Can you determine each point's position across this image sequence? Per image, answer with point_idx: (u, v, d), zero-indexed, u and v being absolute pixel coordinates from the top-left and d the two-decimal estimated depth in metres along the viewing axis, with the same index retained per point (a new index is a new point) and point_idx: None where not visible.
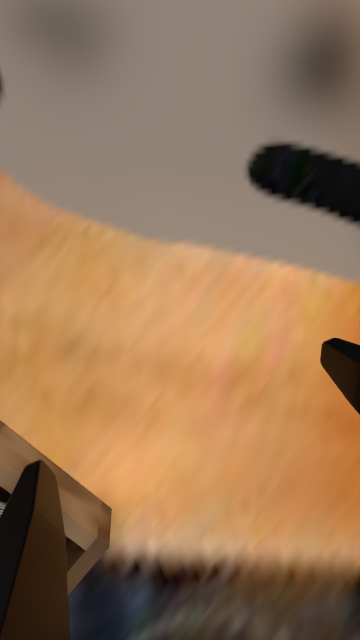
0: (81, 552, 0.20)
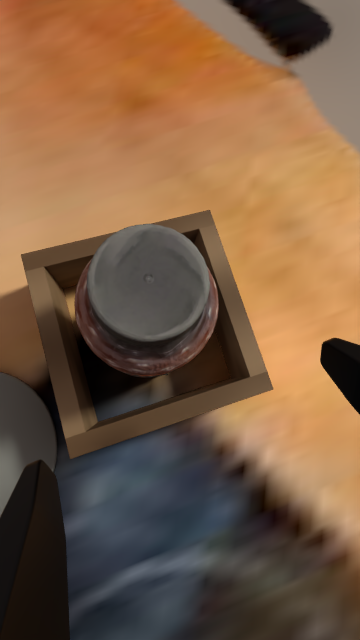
0: (241, 379, 0.17)
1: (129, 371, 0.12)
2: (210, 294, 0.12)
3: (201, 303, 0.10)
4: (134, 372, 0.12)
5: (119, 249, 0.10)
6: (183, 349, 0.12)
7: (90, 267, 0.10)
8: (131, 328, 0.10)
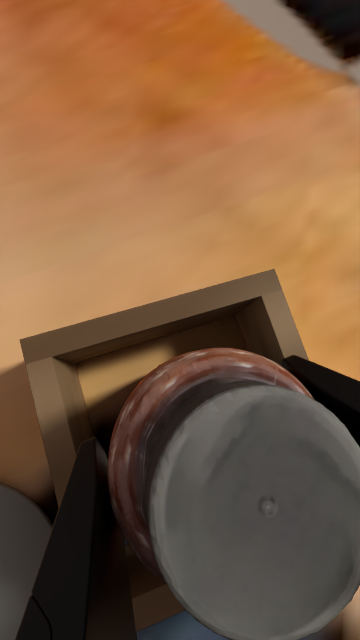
0: None
1: None
2: None
3: None
4: None
5: (209, 447, 0.05)
6: None
7: (155, 489, 0.05)
8: (242, 624, 0.05)
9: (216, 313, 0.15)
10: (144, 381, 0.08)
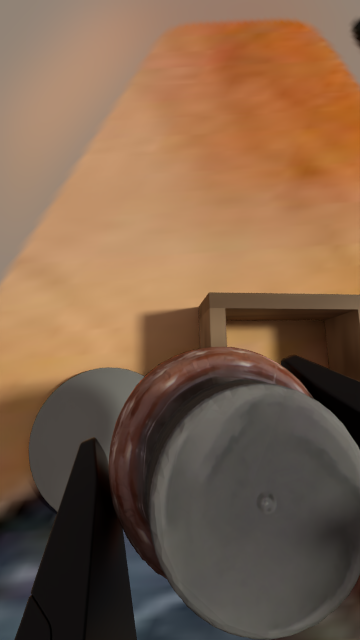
0: None
1: None
2: None
3: None
4: None
5: (209, 445, 0.05)
6: None
7: (156, 486, 0.05)
8: (242, 618, 0.05)
9: (321, 313, 0.22)
10: (144, 380, 0.08)
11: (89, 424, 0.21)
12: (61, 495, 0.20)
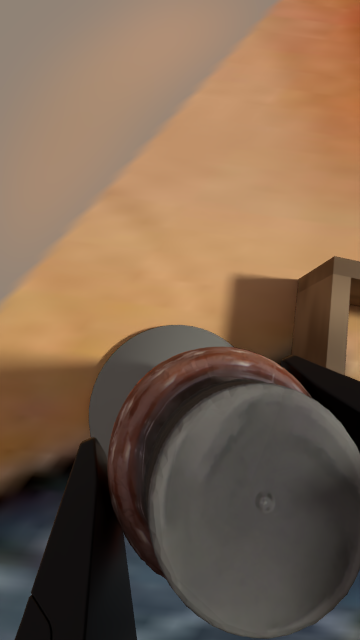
0: None
1: None
2: None
3: None
4: None
5: (208, 444, 0.05)
6: None
7: (155, 485, 0.05)
8: (240, 617, 0.05)
9: None
10: (143, 380, 0.08)
11: None
12: None
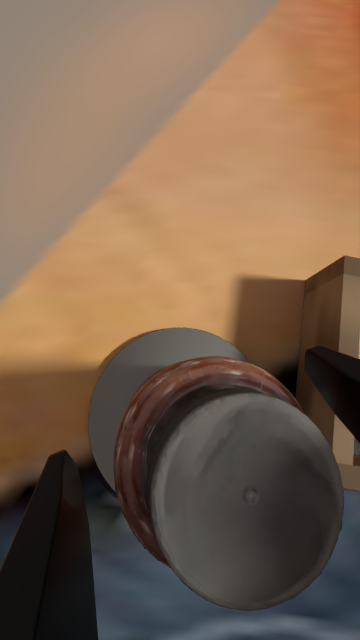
0: None
1: None
2: None
3: (335, 532, 0.06)
4: None
5: (201, 446, 0.06)
6: None
7: (156, 481, 0.06)
8: (229, 592, 0.06)
9: None
10: (145, 387, 0.09)
11: None
12: None
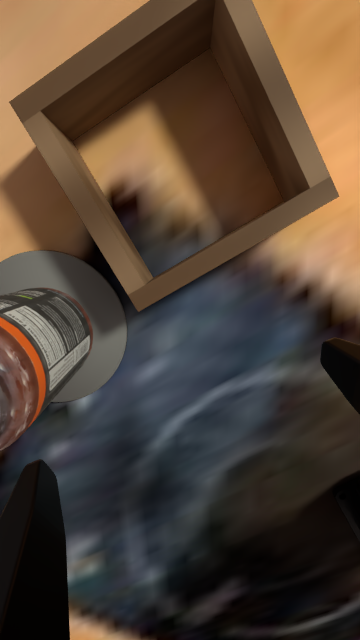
0: (299, 194, 0.15)
1: None
2: None
3: None
4: (2, 449, 0.12)
5: None
6: (11, 413, 0.11)
7: None
8: None
9: (180, 33, 0.14)
10: None
11: None
12: None
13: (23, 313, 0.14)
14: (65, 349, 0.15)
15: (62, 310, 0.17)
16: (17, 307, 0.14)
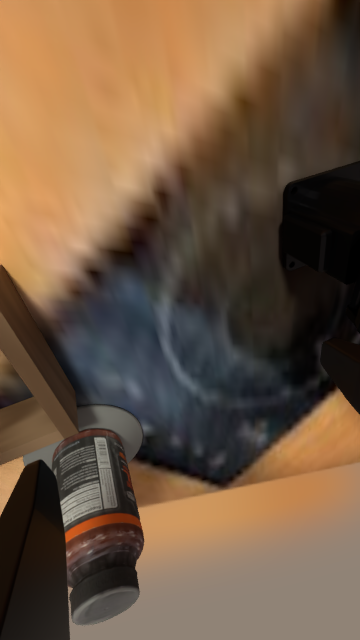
0: None
1: (142, 537, 0.21)
2: (79, 558, 0.19)
3: (104, 595, 0.18)
4: (142, 536, 0.21)
5: (100, 619, 0.19)
6: (120, 544, 0.20)
7: None
8: (134, 595, 0.19)
9: None
10: None
11: None
12: (129, 452, 0.30)
13: (63, 511, 0.21)
14: (95, 481, 0.22)
15: (69, 466, 0.23)
16: None
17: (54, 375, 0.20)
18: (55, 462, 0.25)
